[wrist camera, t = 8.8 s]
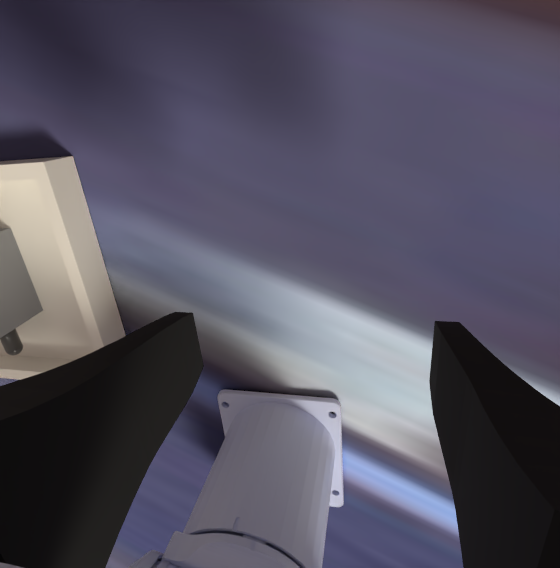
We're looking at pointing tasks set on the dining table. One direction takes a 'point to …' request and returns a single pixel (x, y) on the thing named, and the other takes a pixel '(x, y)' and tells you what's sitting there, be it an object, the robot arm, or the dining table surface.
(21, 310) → the plug
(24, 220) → the tray
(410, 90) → the dining table surface
